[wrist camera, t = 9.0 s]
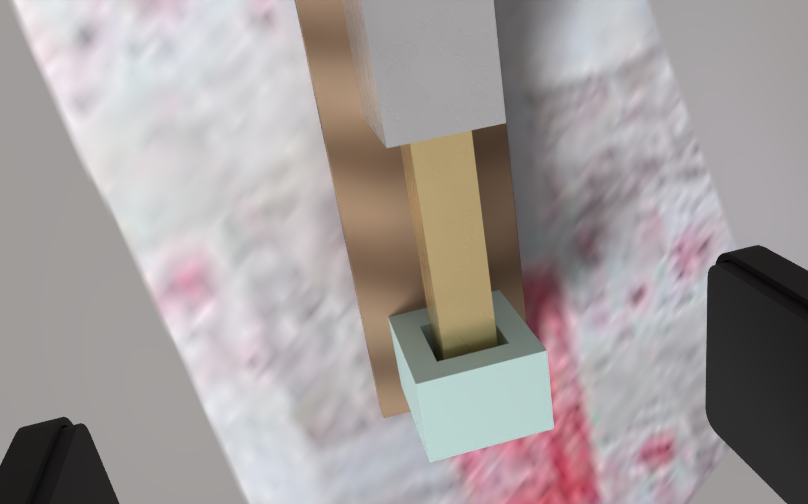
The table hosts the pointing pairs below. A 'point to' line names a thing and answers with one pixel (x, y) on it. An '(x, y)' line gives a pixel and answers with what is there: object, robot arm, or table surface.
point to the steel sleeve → (425, 67)
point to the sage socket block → (473, 384)
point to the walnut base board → (393, 200)
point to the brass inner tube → (450, 243)
